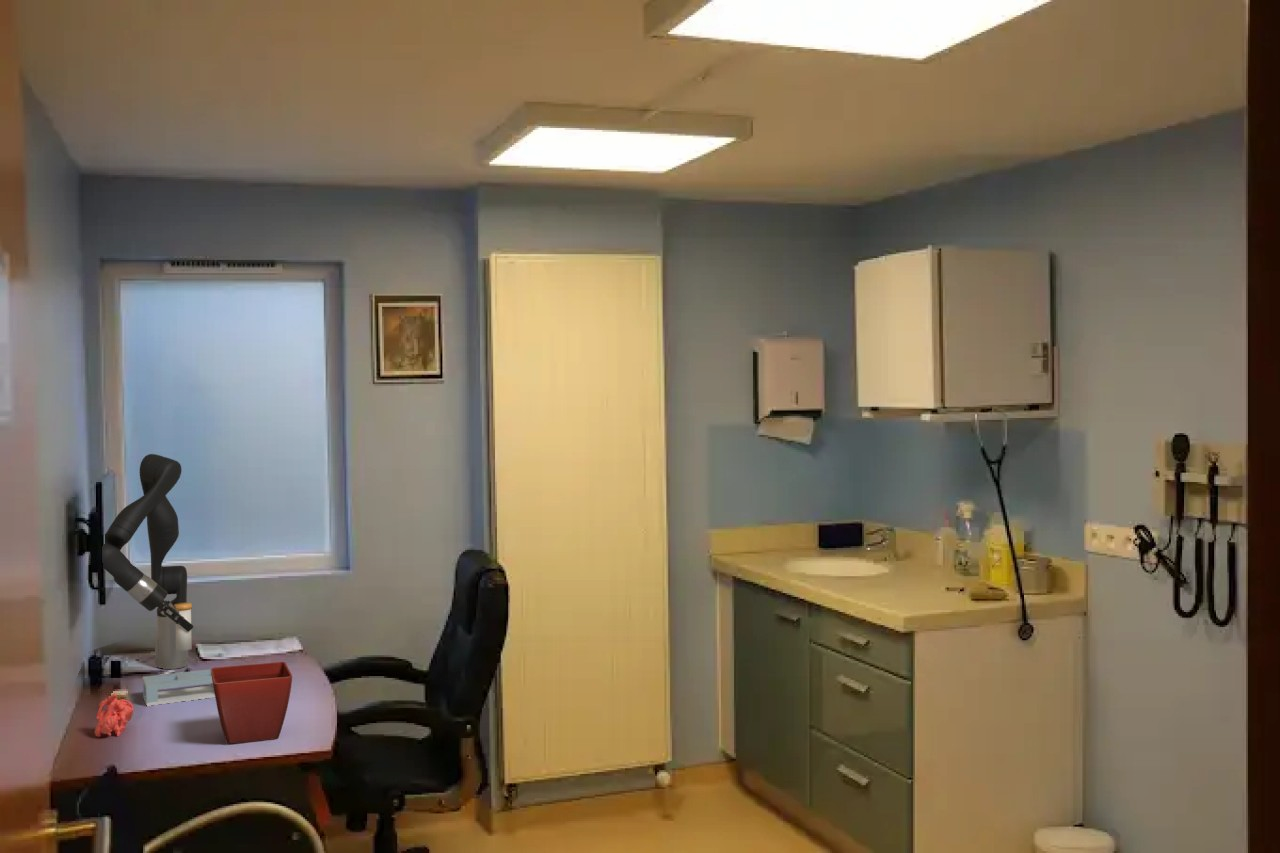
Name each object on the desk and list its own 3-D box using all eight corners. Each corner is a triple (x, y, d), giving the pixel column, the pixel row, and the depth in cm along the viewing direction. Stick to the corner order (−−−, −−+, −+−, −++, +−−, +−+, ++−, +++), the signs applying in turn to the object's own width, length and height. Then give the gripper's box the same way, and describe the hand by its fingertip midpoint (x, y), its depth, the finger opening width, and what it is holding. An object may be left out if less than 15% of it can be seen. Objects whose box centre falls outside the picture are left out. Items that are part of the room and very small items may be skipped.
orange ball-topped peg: (171, 650, 353) (170, 605, 353) (181, 646, 358) (180, 602, 358) (186, 651, 352) (185, 605, 352) (195, 647, 357) (195, 602, 357)
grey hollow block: (146, 706, 332) (146, 685, 332) (143, 696, 342) (142, 676, 342) (227, 696, 342) (226, 676, 342) (221, 687, 353) (220, 668, 353)
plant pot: (286, 721, 315) (285, 660, 314) (294, 740, 297) (292, 675, 297) (211, 730, 308) (210, 667, 307) (215, 750, 290) (213, 683, 289)
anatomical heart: (129, 732, 312) (140, 690, 312) (122, 745, 300) (134, 701, 301) (94, 726, 309) (106, 684, 310) (86, 739, 298) (98, 695, 298)
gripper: (158, 586, 345) (202, 622, 351) (154, 579, 358) (196, 614, 364) (139, 605, 343) (184, 641, 349) (135, 598, 355) (178, 632, 361)
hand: (190, 627), depth 356 cm, fingers closed on orange ball-topped peg, 4 cm apart
